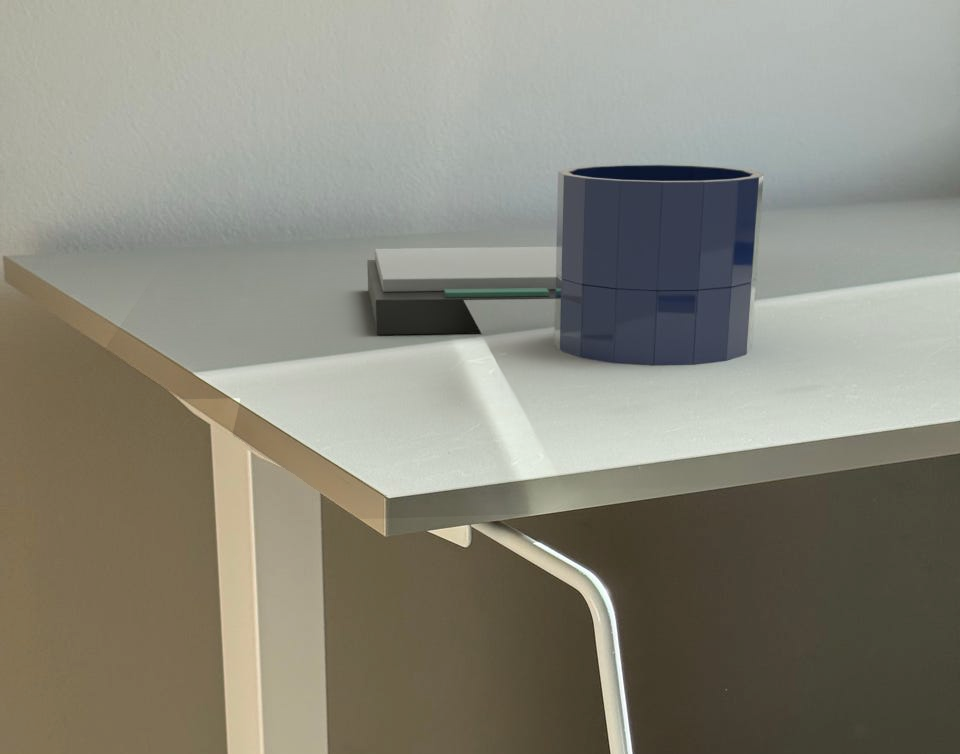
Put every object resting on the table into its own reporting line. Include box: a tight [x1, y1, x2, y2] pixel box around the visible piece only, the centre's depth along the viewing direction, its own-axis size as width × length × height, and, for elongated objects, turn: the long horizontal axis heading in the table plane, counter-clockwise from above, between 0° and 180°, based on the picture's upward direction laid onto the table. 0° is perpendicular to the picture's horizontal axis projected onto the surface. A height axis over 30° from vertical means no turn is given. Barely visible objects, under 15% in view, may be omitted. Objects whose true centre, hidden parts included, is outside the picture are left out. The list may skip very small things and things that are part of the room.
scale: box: [366, 246, 557, 336], centre depth 92 cm, size 14×16×3 cm
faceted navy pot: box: [554, 163, 764, 367], centre depth 71 cm, size 9×9×10 cm
